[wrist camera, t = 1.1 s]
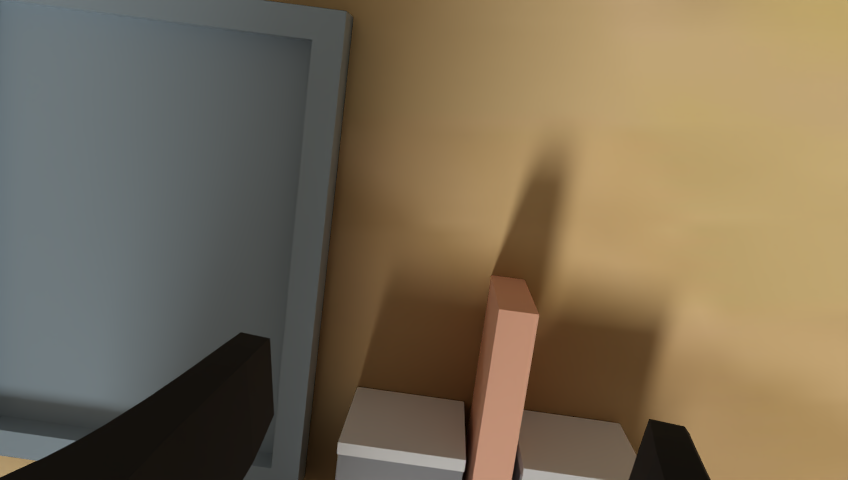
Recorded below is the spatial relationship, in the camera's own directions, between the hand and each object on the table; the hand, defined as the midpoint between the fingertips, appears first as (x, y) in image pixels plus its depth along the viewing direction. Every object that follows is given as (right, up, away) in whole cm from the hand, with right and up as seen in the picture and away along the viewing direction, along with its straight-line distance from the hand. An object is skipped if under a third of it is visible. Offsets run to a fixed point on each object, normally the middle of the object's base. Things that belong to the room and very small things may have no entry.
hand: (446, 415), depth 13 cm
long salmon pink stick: (+2, -3, +13) cm, 14 cm away
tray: (-10, +3, +12) cm, 16 cm away
